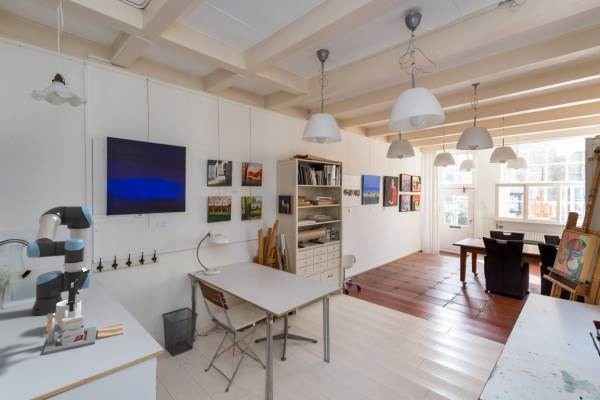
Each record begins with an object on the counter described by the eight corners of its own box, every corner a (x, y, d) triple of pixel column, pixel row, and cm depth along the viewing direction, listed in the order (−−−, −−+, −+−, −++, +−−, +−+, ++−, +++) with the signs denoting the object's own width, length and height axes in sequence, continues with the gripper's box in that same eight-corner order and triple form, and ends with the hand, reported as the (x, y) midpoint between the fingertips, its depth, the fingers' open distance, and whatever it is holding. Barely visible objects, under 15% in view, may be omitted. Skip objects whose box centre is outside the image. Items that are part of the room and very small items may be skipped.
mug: (79, 330, 152) (79, 306, 152) (52, 335, 146) (52, 310, 146) (81, 319, 164) (82, 297, 164) (57, 323, 158) (57, 300, 158)
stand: (49, 337, 144) (50, 310, 144) (95, 328, 155) (96, 303, 155) (43, 354, 129) (44, 325, 129) (94, 343, 140) (95, 316, 140)
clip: (56, 314, 139) (56, 311, 139) (52, 330, 125) (53, 326, 125) (47, 316, 137) (47, 313, 137) (43, 332, 123) (43, 328, 123)
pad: (97, 330, 153) (97, 328, 153) (121, 325, 160) (121, 324, 160) (97, 339, 144) (97, 337, 144) (122, 334, 151) (122, 332, 151)
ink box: (81, 335, 147) (81, 313, 147) (83, 339, 144) (84, 316, 144) (59, 342, 140) (60, 318, 140) (62, 345, 137) (62, 321, 137)
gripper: (66, 265, 149) (65, 305, 150) (60, 277, 129) (59, 323, 129) (84, 264, 154) (83, 302, 154) (81, 275, 133) (80, 320, 133)
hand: (72, 312), depth 141 cm, fingers open, 13 cm apart
